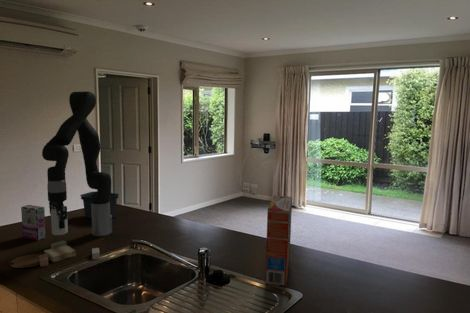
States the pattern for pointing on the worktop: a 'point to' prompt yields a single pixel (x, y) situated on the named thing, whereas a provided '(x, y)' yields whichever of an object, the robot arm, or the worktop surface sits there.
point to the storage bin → (87, 203)
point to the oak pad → (60, 253)
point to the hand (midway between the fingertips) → (58, 226)
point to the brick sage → (58, 244)
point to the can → (57, 224)
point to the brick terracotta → (43, 260)
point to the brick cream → (95, 253)
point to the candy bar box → (33, 222)
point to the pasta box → (278, 240)
